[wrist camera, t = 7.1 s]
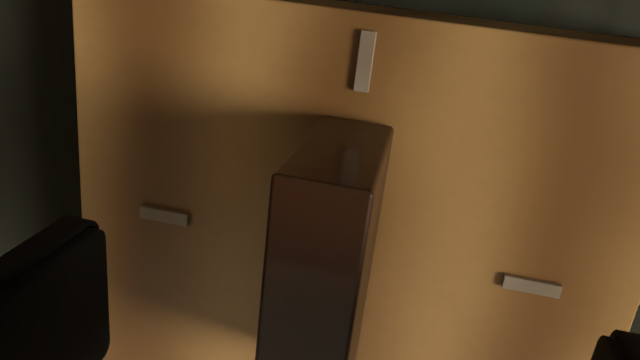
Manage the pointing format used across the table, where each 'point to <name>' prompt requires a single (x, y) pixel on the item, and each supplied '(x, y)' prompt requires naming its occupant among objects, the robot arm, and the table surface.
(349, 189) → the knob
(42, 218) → the table surface
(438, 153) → the light wood flat block
